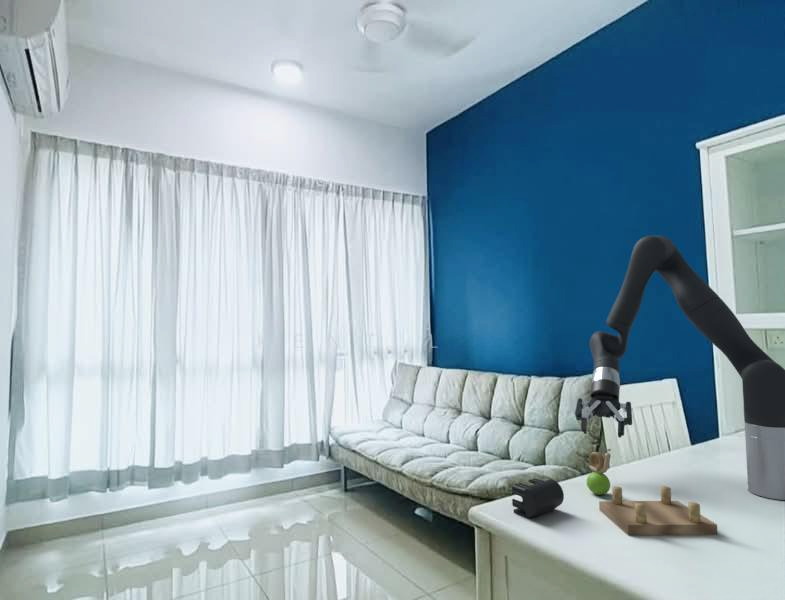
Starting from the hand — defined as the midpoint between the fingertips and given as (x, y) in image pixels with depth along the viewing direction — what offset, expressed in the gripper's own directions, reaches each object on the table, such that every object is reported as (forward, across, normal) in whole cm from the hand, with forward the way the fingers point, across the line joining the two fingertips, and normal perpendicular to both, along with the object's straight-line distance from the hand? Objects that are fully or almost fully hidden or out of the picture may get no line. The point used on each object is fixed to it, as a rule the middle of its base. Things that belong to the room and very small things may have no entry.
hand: (601, 434), depth 125 cm
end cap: (+29, -11, -10) cm, 33 cm away
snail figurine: (+16, 0, +4) cm, 16 cm away
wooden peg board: (+24, +12, -5) cm, 27 cm away
